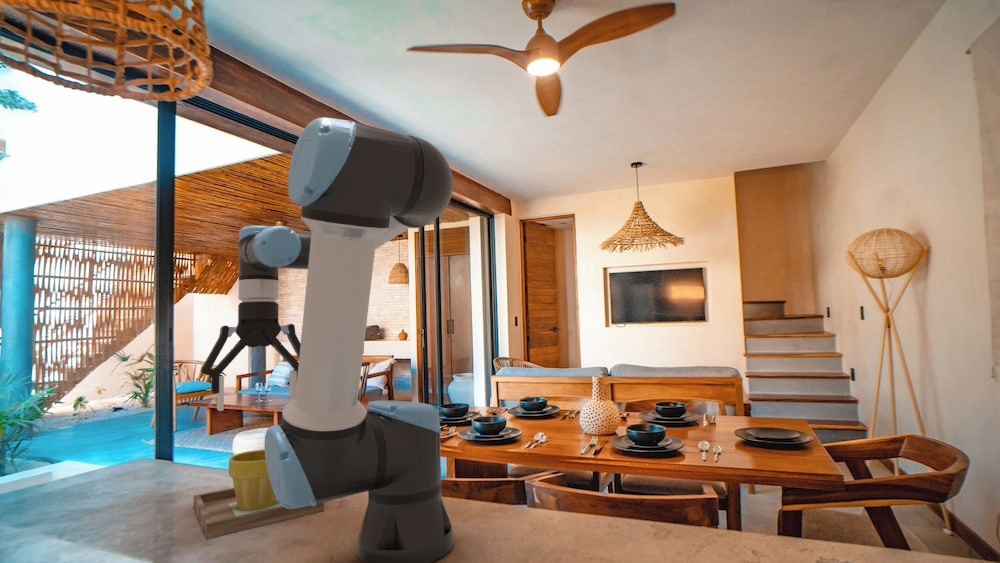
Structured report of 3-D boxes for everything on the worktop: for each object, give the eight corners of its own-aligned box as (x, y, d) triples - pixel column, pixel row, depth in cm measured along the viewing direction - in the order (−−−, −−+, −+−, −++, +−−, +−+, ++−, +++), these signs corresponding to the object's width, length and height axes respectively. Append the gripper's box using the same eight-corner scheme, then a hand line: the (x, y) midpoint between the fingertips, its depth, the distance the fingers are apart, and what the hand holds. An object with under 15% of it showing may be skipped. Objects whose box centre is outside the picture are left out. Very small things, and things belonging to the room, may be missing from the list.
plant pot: (294, 495, 107) (294, 447, 107) (268, 514, 96) (268, 461, 97) (247, 495, 107) (248, 448, 108) (216, 514, 97) (216, 461, 98)
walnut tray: (323, 510, 100) (323, 498, 100) (206, 539, 88) (206, 524, 88) (295, 486, 116) (295, 475, 116) (193, 507, 104) (193, 495, 104)
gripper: (314, 302, 116) (315, 397, 114) (186, 302, 101) (184, 411, 99) (325, 300, 110) (325, 400, 108) (190, 300, 95) (188, 416, 93)
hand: (258, 406), depth 103 cm, fingers open, 13 cm apart
